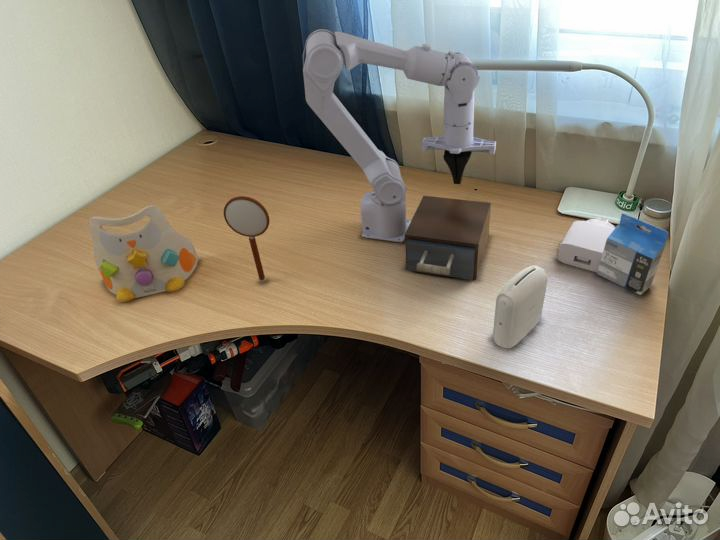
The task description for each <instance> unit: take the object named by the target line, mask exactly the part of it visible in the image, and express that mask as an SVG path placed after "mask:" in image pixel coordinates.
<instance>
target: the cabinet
mask: <svg viewBox="0 0 720 540" xmlns="http://www.w3.org/2000/svg"><path fill="white" fill-rule="evenodd" d="M491 209H492V202H488V201H486V202H485V201H479V200H477V201H476V200H468V199H460V198H450V197H442V196H440V197H439V196H431V195H423V196H422V197H421V199H420V202H419V204H418V206H417V208H416V210H415V212H414V214H413V216H412V218H411V220H410V221H411V222H410V225H409V227H408V229H407V231H406V233H405V240H404V253H405V254H404V255H405V270H407V253H406V242H407V240H408V239H412V240H413V239H417V240H424V241H432V242H439V243H446V244H454V245H461V246H469V247H474V248H475V258H474V273H473V279H472V280H471V281H477V279H478V275H479V272H480V268H481V265H482V261H483V258H484V254H485V250H486V246H487V243H488V240H489V235H490V234H489V233H490V223H491V222H490V221H491Z"/></svg>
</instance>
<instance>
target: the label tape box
mask: <svg viewBox="0 0 720 540" xmlns="http://www.w3.org/2000/svg"><path fill="white" fill-rule="evenodd" d="M637 226H639V227H644V228H645V229H646V230H648V231H650V232H648V231H646V230H644V229H641V228H639V227H637ZM668 237H669V231H667V230H665V229H663V228H661V227H658V226H656V225H654V224H651V223H649V222H646V221H644V220H642V219H639V218H637V217H633V216H631V215H628V214H626V213H624V212H621V215H620V220H619V223H618V224H617V225H616V226H615V229H614V230H613V232H612V233H611V234H610V235H609V237H608V238H607V240H606V243H605V247H604V250H603V254H602V258H601V261H600V265H599V268H598V272H596V275H598V276H600V277H602V278H604V279H606V280H608V281H610V282H613V283H615V284H616V285H618V286H620V287H622V288H625V289H626V290H629V291H631V292H633V293H635V294H637V295H639V296H642V295H643V294H644V293H646V292H647V291H648V290H649V289H650V288H651V287H652V285H653V283H654V282H653V281H654V278H655V276H656V273H657V270H658V267H659V264H660V262H661V259H662V256H663V253H664V251H665V248H666V246H667V240H668Z"/></svg>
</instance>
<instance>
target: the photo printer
mask: <svg viewBox="0 0 720 540" xmlns="http://www.w3.org/2000/svg"><path fill="white" fill-rule="evenodd" d="M548 279H549V277H548V274H547V271H546V270H545V269H544V267H540V266H538V265H537V264H533V265H530V266H527V267H525V268H523V269H521V270H520V271H518V272H517V273H516V274H515V275H513V276H512V277H511V278H510V279H509V280H508V281H507V282H506V283H505V284H504V285H503V286H502V288H501V289H500V290H499V291H498V294H497V295H496V298H495V307H494V308H495V309H494V319H493V328H492V339H493V340H494V342H495V344H496V345H498V346H499V347H501V348H504V349H511V348H513V347H515V346H516V345H517V344H519V342H520V341H522V340H523V339H524V338H525V337H526V336H527V335H528V334H529V333H530V332H531V331H532V330H533V329H534V328H535V327H536V326H537V325H538V324H539V322H540V320H541V318H542V314H543V309H544V303H545V299H546V291H547V285H548Z"/></svg>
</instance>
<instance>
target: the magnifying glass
mask: <svg viewBox="0 0 720 540" xmlns="http://www.w3.org/2000/svg"><path fill="white" fill-rule="evenodd" d="M223 218H224V220H225V223H226V224H227V225H228V227H229V228H230V229H231V230H232V231H233V232H235V233H236V234H238V235H241V236H243V237H246V238H247V237H248V241H249V245H250V249H251V253H252V258H253V260H254V265H255V269H256V272H257V276H258V279H259V281H260V282H261V283H264V282H265V281H266V280H265V279H266V276H265V272H264V268H263V264H262V260H261V256H260V252H259V248H258V244H257V239H256V237H260V236H262V235H263V234H264V233H266V231H267V230H268V228H269V226H270V216H269V212H268V210H267V209H266V207H265V206H264V205H263V204H262V203H261V202H259V201H258V200H256V198H255V199H254V198H252V197H249V196H245V195H244V196H235V197H233V198H231V199H229V200H227V202H226V203H225V205H224V207H223Z"/></svg>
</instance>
